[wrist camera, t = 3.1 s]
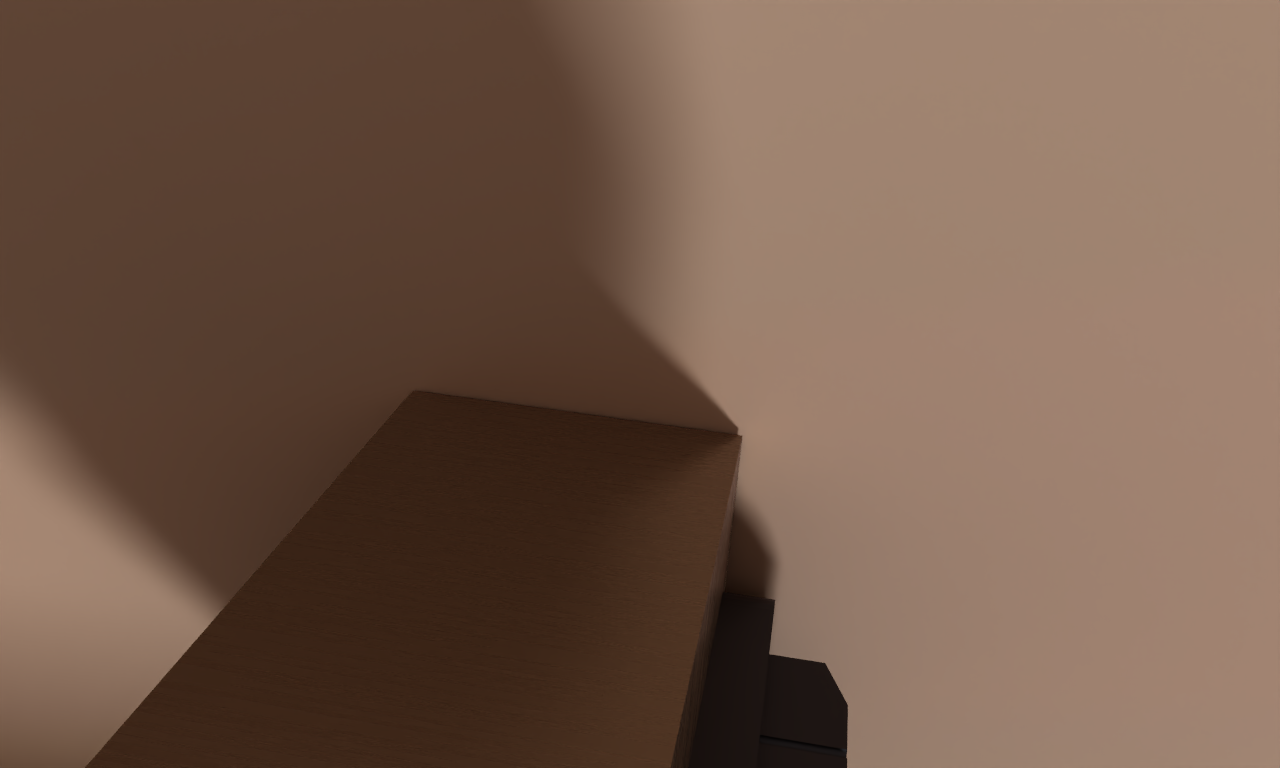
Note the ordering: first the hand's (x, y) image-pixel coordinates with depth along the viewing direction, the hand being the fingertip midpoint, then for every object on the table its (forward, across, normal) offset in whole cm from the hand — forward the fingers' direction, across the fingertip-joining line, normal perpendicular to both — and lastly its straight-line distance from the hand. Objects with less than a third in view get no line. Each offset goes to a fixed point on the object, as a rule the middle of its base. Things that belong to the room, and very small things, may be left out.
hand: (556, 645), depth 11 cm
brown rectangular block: (0, 0, 0) cm, 0 cm away
